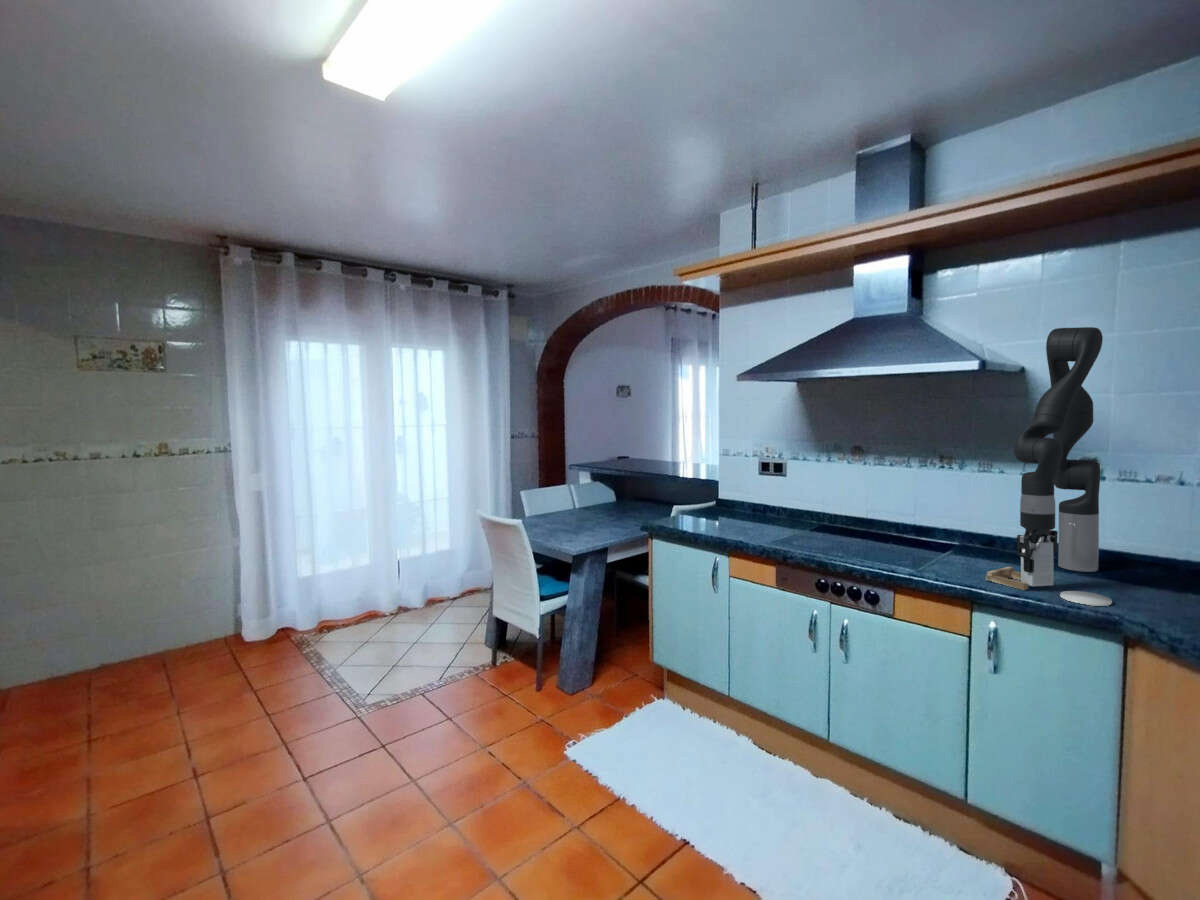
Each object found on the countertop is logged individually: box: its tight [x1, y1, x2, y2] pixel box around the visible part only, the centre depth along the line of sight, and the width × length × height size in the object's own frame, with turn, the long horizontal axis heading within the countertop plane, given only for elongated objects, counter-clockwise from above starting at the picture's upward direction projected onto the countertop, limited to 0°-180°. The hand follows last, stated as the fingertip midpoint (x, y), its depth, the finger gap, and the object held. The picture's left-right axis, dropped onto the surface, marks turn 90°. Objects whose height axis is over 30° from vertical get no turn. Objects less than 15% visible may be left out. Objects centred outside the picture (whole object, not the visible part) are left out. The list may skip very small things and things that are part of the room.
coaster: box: [1059, 590, 1113, 607], centre depth 141 cm, size 10×10×1 cm
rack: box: [985, 566, 1029, 591], centre depth 156 cm, size 10×10×3 cm
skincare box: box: [1020, 541, 1055, 587], centre depth 151 cm, size 6×4×12 cm
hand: (1037, 569), depth 151 cm, fingers closed on skincare box, 7 cm apart
